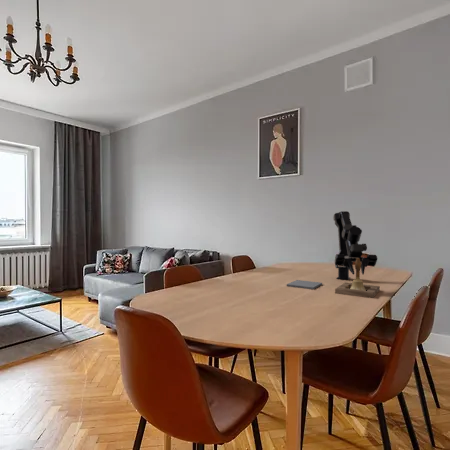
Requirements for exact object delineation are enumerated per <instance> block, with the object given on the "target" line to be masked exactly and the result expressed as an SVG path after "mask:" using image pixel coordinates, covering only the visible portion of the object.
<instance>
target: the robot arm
mask: <svg viewBox="0 0 450 450" xmlns="http://www.w3.org/2000/svg"><path fill="white" fill-rule="evenodd" d="M332 219H333V221H334V225H335V226H336V228H337V233H338V235H337V236H338V248H339V252H338V253H337V254H336V255H335V256H334V264H335V265H334V266H335V269H337V270H338V271H337V272H338V273H337V274H338V275H337V277H336V278H335V279H336V280H347V281H348V280H351V277H350V274H349V273H352V275H355V269H354V266H353V265H354V263H355V262H356V259H357V258H360V262H361V268H360V270H361V271H360V272H361V274H362V275H363V276H364V274H365V270H366V268H367V267H369V266H370V267H375V266H376V265H377V262H378V255H376V254H367V255H366V257H364V256H363V252H365V251H367V250H368V246H367V243H359V242H360V240H361V237H362V233H363V230H362V228H360V227H358V226H357V225H356V224H353V223H352V220H351V215H350V212H349V211H347V210H346V211H345V210H342V211H339V212H335V213H334V214H333V216H332ZM349 271H350V272H349Z"/></svg>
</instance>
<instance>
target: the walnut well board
mask: <svg viewBox="0 0 450 450" xmlns="http://www.w3.org/2000/svg"><path fill="white" fill-rule="evenodd" d="M363 285H364V288H365V290H367V291H364V290H356V289H349V288H351V286H352V282H344V283H341V285H339V286H337V287H335V289H334V293H335V294H338V295H345V294H348V295H347V296H353V295H356V296H355V297H361V296H363V297H362V298H369V297H370V299H373V298H374V297H375V296H376V295H377V294H378V293H379V291H380V286H379V285H373V284H371V285H370V284H364V283H363ZM377 292H378V293H377ZM376 293H377V294H376Z"/></svg>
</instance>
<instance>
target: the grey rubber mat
mask: <svg viewBox="0 0 450 450" xmlns="http://www.w3.org/2000/svg"><path fill="white" fill-rule="evenodd" d="M322 285H323V282H319V281H311V280H301V279H300V280H299V279H296V280H293V281H291V282H289V283H286V287H290V288H297V289H308V290H315V289H317V288H319V287H321V286H322Z"/></svg>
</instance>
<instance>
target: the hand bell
mask: <svg viewBox="0 0 450 450" xmlns="http://www.w3.org/2000/svg"><path fill="white" fill-rule="evenodd" d="M354 268H355V269H354V270H355V279H353V280H352V282H351V283H352V286H351V288H350V289H356V290H364V291H366V290H365V288H364V285H365V284H364V281H363V280H362V279H361V278H360V277H361V274H360V272H361V271H360V270H361V262H360V258H357V259H356V262H354ZM363 284H364V285H363Z"/></svg>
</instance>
